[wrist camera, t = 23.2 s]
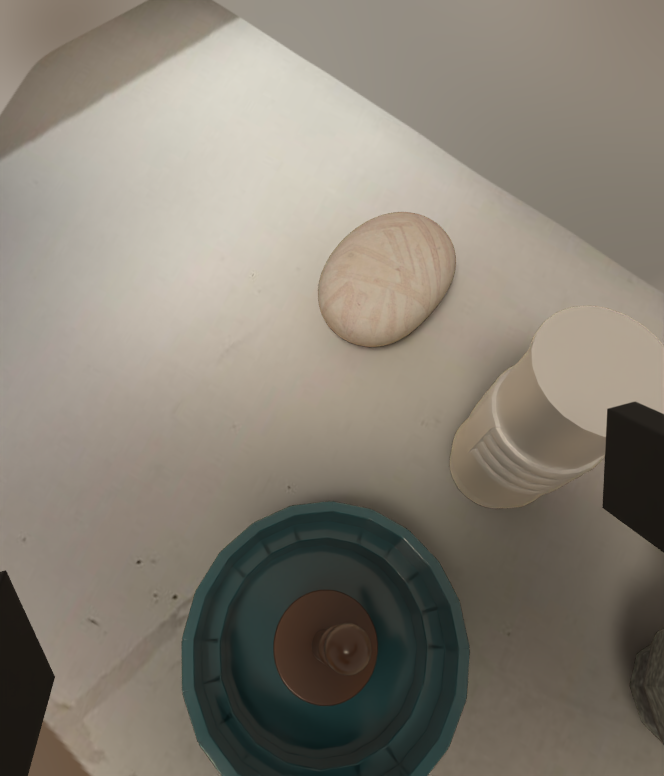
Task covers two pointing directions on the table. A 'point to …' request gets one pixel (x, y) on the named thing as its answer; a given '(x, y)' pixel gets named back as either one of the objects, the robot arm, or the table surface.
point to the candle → (556, 406)
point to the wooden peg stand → (325, 647)
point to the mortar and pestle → (650, 685)
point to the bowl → (256, 656)
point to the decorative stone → (386, 278)
